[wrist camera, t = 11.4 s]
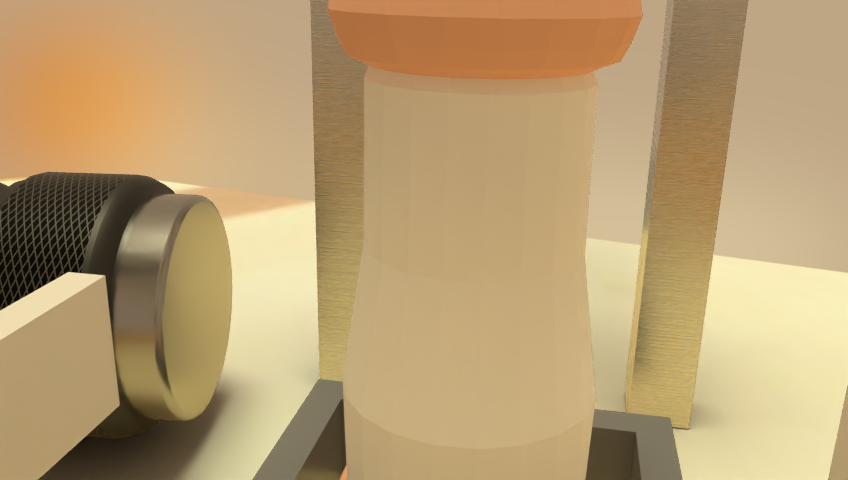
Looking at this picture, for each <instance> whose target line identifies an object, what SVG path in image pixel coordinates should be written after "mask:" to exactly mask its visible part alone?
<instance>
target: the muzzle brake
mask: <svg viewBox="0 0 848 480" xmlns="http://www.w3.org/2000/svg"><path fill="white" fill-rule="evenodd" d="M68 272H73V273H84V274H95V275H105V278H106V287H107V296H108V305H109V314H110V323H111V332H112V341H113V349H114V358H115V367H116V376H117V385H118V394H119V403H120V405H119V406H118V407H117V408H116V409H115V410H114V411H113V412H112V413H111V414H110V415H108V416H107V417H106V418H105V419H104V420H103V421H102V422H101V423H100V424H99V425H98V426H96V427H95V428H94V429H93V430H92V431H91V432H90V433H89V434H88V435H87V436H85V437H99V438H125V437H131V436H135V435H137V434H139V433H142V432H144V431H146V430H148V429H150V428H152V427H153V426H155V425H156V424H158V423H159V421H160V420H171V421H188V420H192V419H195V418H196V417H198V416H199V415H201V414H202V413H203V411H204V410H205V409H206V407H207V406H208V404H209V402H210V400H211V398H212V396H213V394H214V392H215V389H216V386H217V384H218V381H219V378H220V375H221V371H222V367H223V364H224V360H225V355H226V350H227V345H228V338H229V331H230V322H231V310H232V269H231V258H230V251H229V245H228V239H227V235H226V231H225V228H224V224H223V221H222V219H221V216H220V214H219V212H218V210H217V208H216V207H215V205H214V204H213V203H212V202H211V201H210V200H209V199H207V198H206V197H204V196H200V195H185V194H175V193H174V191H173V190H171V189H170V188H169V187H167V186H166V185H164V184H162V183H160V182H159V181H157V180H155V179H153V178H151V177H148V176H141V175H125V174H95V173H94V174H93V173H63V172H46V173H41V174H37V175H33V176H30V177H29V178H27V179H26V180H22V181H18V182H15V183H13V184H12V185H10V186H7V185H4V184H2V183H0V310H2V309H4V308H6V307H7V306H9V305H11V304H13V303H15V302H16V301H18V300H20V299H22V298H23V297H25V296H27V295H29V294H30V293H32V292H34V291H36V290H38V289H39V288H41V287H43V286H45V285H46V284H48V283H50V282H52V281H53V280H55V279H57V278H59V277H60V276H62V275H64V274H66V273H68Z"/></svg>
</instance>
